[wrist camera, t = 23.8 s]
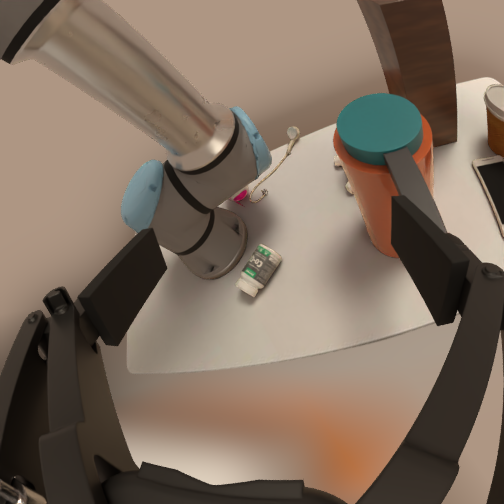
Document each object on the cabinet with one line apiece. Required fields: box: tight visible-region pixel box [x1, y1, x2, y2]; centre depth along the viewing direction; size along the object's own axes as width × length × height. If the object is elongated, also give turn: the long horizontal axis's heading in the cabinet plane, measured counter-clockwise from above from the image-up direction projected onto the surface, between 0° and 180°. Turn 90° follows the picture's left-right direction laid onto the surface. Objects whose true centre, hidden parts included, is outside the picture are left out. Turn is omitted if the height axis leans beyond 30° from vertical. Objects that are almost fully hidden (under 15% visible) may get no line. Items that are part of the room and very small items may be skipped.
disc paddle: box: [337, 93, 447, 233], centre depth 21 cm, size 22×9×2 cm, turn 4°
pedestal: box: [333, 114, 434, 258], centre depth 33 cm, size 11×11×21 cm
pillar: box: [357, 0, 457, 148], centre depth 33 cm, size 10×10×30 cm
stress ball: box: [228, 185, 248, 206], centre depth 60 cm, size 8×8×7 cm
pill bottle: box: [235, 244, 282, 297], centre depth 49 cm, size 5×5×8 cm
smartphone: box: [472, 155, 504, 237], centre depth 31 cm, size 7×16×1 cm, turn 0°
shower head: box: [249, 126, 300, 203], centre depth 59 cm, size 5×3×20 cm
